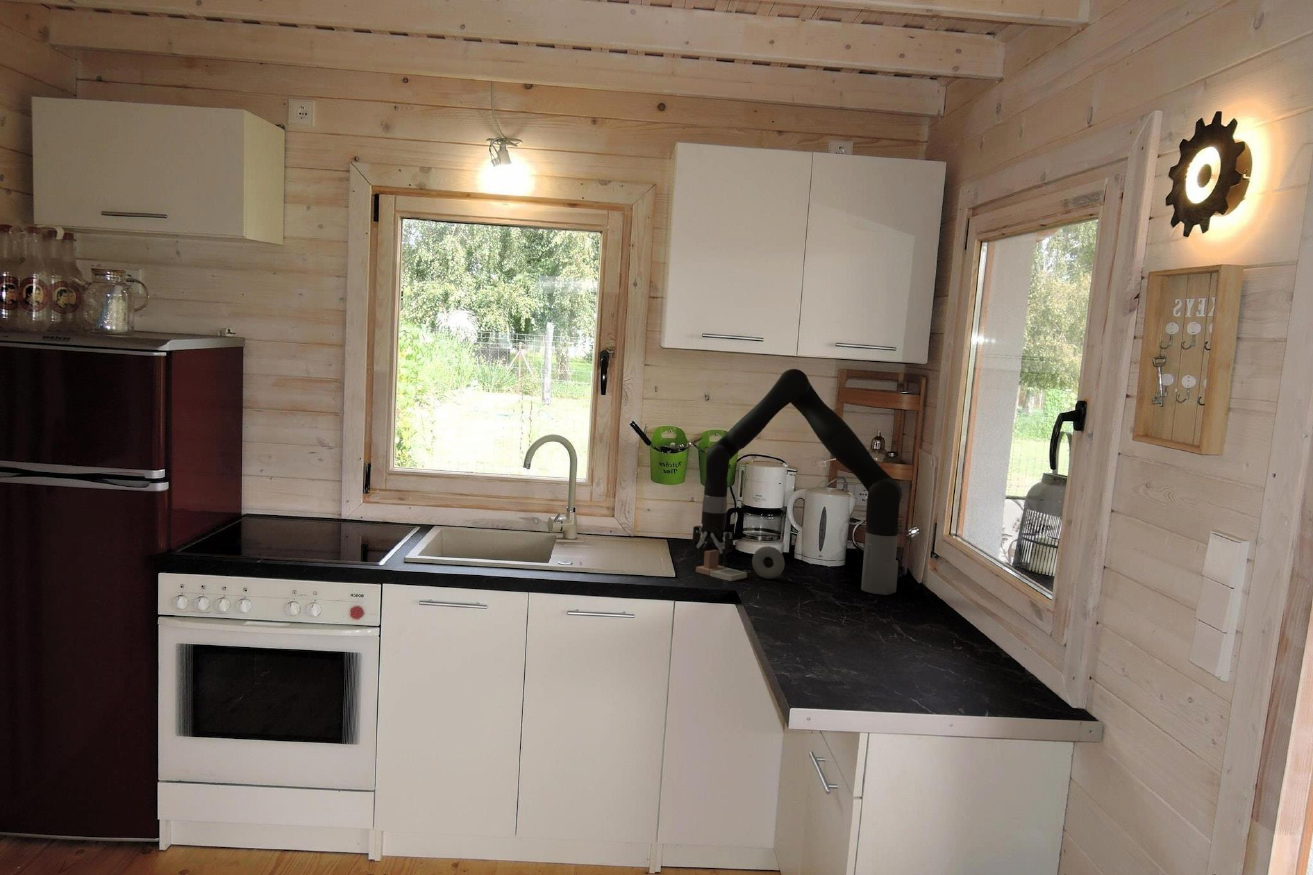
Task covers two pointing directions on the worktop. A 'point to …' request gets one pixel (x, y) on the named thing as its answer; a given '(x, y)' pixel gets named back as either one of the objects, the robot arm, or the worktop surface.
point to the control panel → (728, 574)
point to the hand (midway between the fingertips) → (710, 562)
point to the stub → (709, 562)
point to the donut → (761, 568)
